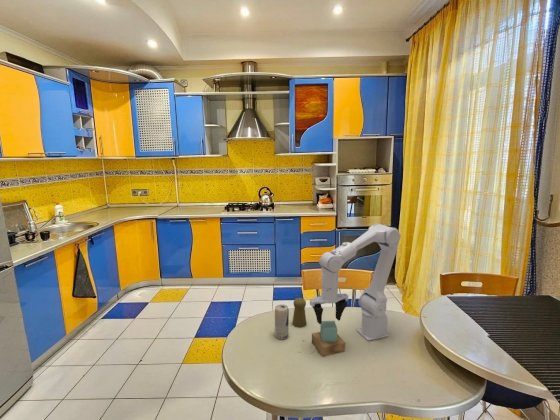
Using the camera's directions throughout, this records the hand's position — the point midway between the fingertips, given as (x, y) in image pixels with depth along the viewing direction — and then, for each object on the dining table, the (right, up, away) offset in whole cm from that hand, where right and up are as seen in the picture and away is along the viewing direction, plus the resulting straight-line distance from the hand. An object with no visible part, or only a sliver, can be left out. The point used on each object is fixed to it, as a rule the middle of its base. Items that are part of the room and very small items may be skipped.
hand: (328, 320), depth 111 cm
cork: (-10, -8, +17) cm, 21 cm away
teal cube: (0, -7, +1) cm, 7 cm away
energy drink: (-17, -9, +9) cm, 21 cm away
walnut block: (0, -11, +2) cm, 11 cm away
